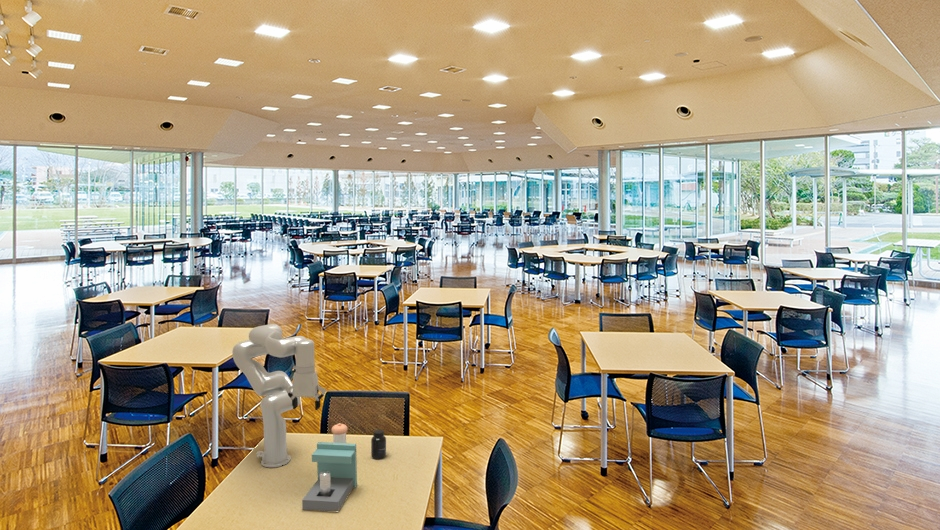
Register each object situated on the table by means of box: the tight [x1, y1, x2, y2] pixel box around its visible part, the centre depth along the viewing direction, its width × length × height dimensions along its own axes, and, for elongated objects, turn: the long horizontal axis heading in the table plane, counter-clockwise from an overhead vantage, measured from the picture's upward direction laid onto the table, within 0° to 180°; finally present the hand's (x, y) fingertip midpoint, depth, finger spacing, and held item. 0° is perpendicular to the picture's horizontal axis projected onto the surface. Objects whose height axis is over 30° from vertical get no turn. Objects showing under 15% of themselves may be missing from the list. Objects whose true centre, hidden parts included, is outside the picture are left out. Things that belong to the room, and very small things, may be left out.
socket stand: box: [301, 441, 358, 512], centre depth 212 cm, size 16×20×18 cm
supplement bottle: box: [370, 429, 387, 460], centre depth 248 cm, size 7×7×12 cm
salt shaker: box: [331, 422, 348, 443], centre depth 239 cm, size 7×7×19 cm
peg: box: [320, 471, 331, 497], centre depth 208 cm, size 4×4×12 cm
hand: (306, 408), depth 226 cm, fingers open, 9 cm apart
